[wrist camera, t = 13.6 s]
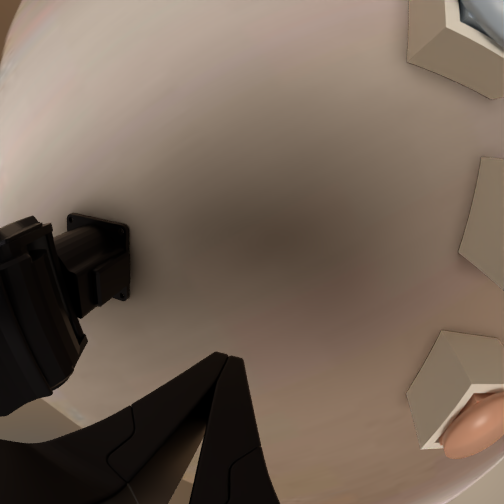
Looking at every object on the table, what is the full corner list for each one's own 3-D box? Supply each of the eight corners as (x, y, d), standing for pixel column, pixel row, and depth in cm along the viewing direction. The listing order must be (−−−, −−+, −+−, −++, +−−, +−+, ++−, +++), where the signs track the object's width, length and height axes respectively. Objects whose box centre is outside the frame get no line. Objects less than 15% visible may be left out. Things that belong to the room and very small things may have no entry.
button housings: (322, 383, 22) (321, 444, 16) (408, -15, 11) (436, -60, 5) (461, 395, 21) (481, 443, 15) (554, 70, 10) (599, 62, 4)
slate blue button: (431, 41, 10) (464, 14, 6) (428, -35, 8) (449, -68, 4) (517, 87, 9) (559, 79, 5) (510, 9, 7) (542, -9, 3)
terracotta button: (418, 421, 18) (428, 461, 14) (459, 362, 16) (480, 402, 12) (472, 420, 17) (485, 454, 13) (511, 365, 15) (533, 398, 11)
